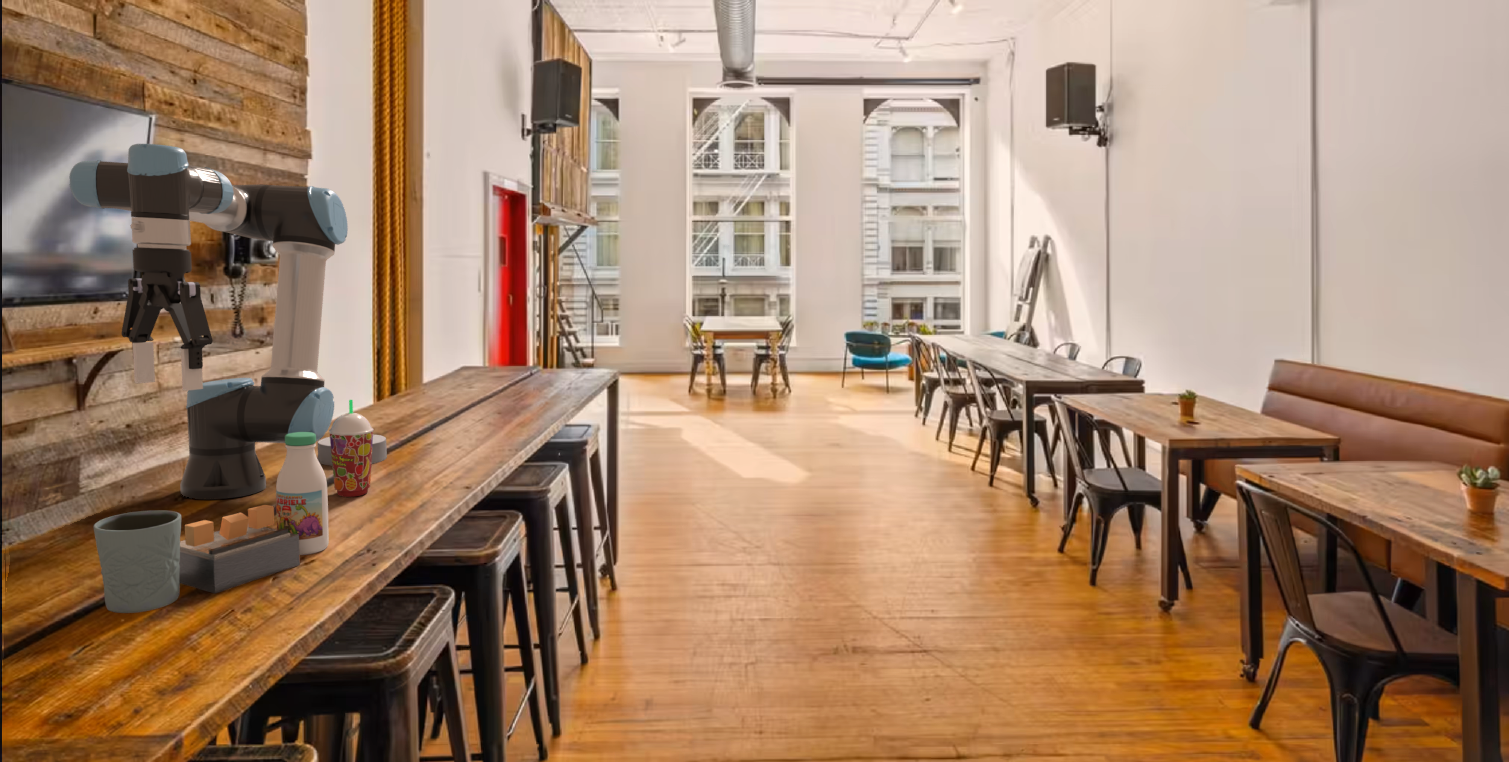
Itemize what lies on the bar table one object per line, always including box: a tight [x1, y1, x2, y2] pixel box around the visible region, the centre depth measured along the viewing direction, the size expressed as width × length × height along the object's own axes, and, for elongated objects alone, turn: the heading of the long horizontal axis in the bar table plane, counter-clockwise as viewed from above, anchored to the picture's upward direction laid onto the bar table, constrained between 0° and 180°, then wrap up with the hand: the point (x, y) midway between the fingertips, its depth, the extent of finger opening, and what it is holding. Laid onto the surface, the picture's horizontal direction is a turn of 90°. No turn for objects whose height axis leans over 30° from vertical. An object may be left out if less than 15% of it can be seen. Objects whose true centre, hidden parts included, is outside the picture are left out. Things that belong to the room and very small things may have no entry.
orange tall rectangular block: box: [184, 519, 215, 547], centre depth 128 cm, size 2×3×3 cm, turn 156°
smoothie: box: [328, 399, 375, 498], centre depth 178 cm, size 8×8×20 cm
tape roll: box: [317, 434, 388, 467], centre depth 209 cm, size 15×15×5 cm
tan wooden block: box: [247, 504, 275, 529], centre depth 137 cm, size 2×3×3 cm, turn 156°
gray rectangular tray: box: [179, 525, 301, 594], centre depth 133 cm, size 12×14×6 cm
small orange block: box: [219, 512, 249, 540], centre depth 133 cm, size 2×3×3 cm, turn 158°
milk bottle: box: [275, 432, 330, 556], centre depth 144 cm, size 8×8×20 cm
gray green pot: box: [93, 509, 182, 614], centre depth 121 cm, size 10×10×12 cm
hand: (168, 386), depth 136 cm, fingers open, 11 cm apart
